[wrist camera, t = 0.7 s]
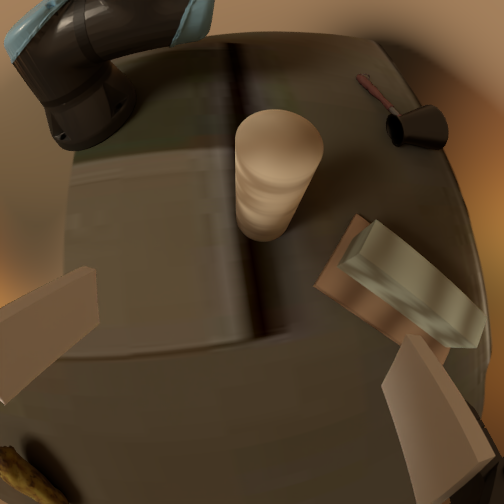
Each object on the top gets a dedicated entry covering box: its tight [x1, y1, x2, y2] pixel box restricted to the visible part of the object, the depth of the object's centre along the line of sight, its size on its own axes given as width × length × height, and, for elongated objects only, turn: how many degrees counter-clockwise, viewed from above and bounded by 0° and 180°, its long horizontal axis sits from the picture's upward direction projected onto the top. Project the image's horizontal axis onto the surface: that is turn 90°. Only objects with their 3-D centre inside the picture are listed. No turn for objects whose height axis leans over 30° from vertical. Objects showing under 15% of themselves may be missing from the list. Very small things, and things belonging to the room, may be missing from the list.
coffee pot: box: [356, 74, 448, 150], centre depth 35 cm, size 8×18×8 cm
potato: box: [0, 446, 69, 504], centre depth 16 cm, size 8×13×8 cm, turn 30°
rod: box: [235, 109, 323, 242], centre depth 24 cm, size 6×6×14 cm
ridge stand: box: [313, 214, 487, 366], centre depth 26 cm, size 21×10×7 cm, turn 56°
